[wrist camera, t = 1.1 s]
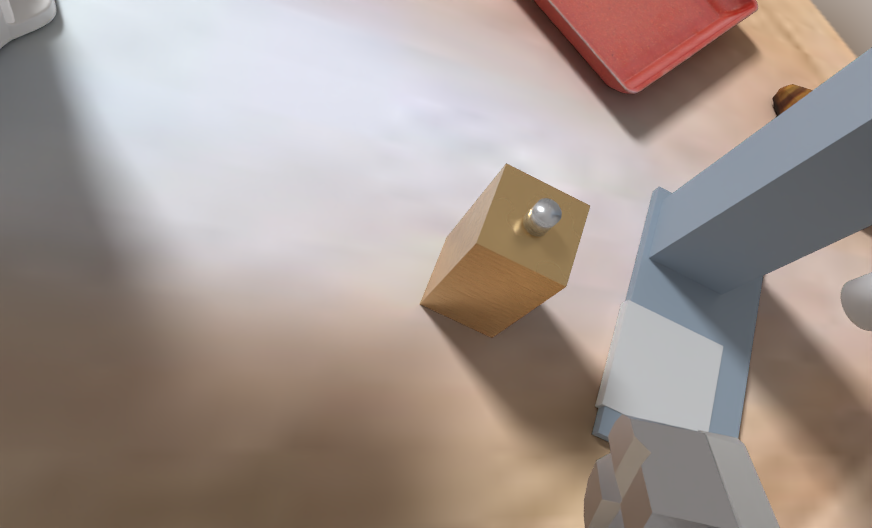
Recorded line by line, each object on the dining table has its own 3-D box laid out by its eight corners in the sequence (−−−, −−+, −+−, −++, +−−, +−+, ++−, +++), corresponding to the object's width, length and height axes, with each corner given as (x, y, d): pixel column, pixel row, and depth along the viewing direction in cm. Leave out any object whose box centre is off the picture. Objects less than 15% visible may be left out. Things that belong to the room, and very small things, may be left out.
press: (721, 493, 44) (1292, 448, 21) (588, 432, 43) (1039, 312, 20) (760, 246, 52) (1200, 18, 29) (650, 189, 51) (1018, -96, 28)
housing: (491, 337, 43) (580, 276, 33) (419, 304, 42) (487, 230, 32) (514, 270, 45) (605, 193, 35) (446, 237, 45) (517, 148, 34)
